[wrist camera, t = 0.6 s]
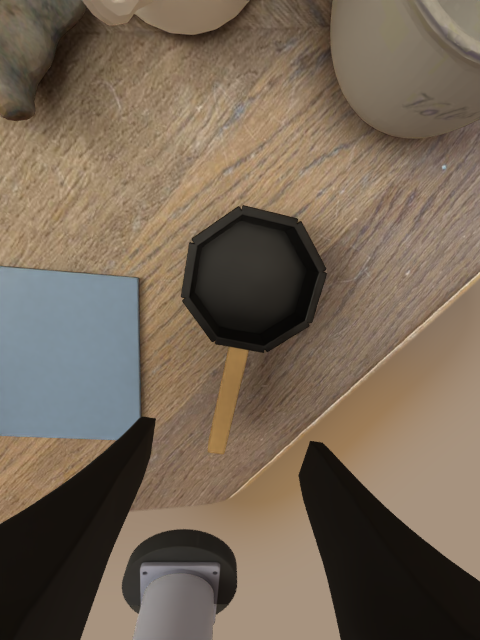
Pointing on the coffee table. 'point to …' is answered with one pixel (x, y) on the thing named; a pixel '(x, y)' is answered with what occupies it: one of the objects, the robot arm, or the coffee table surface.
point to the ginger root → (30, 48)
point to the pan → (250, 293)
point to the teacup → (409, 63)
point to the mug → (169, 13)
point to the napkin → (68, 354)
